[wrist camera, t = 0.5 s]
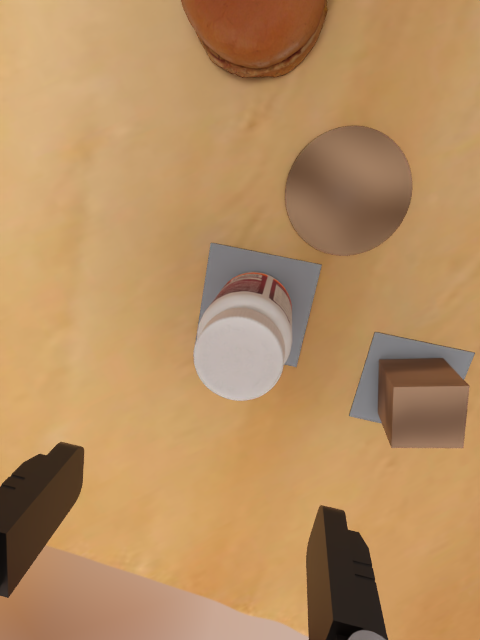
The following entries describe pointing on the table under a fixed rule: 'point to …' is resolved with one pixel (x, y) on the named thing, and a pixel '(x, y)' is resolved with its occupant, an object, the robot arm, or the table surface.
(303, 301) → the code tile
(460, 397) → the walnut block
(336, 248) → the coaster
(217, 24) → the burger
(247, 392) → the pill bottle
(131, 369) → the table surface
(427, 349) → the code tile
